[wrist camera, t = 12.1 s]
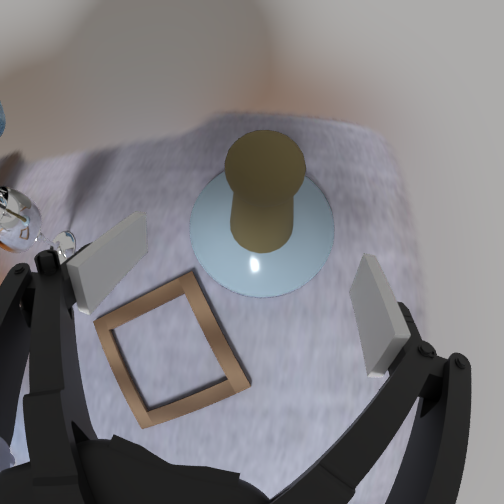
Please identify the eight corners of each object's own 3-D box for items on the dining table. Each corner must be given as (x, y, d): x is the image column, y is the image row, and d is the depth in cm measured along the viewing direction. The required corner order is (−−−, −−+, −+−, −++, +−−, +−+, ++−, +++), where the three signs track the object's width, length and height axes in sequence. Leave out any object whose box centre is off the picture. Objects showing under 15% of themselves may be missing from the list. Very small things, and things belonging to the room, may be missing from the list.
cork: (270, 185, 27) (278, 105, 17) (305, 232, 26) (336, 166, 15) (218, 214, 26) (197, 141, 16) (251, 265, 25) (249, 214, 14)
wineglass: (44, 273, 26) (-26, 242, 14) (50, 229, 27) (-12, 187, 16) (77, 271, 26) (2, 236, 14) (82, 224, 27) (19, 174, 16)
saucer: (172, 202, 28) (169, 197, 27) (286, 151, 30) (287, 145, 29) (230, 324, 24) (229, 323, 23) (356, 255, 26) (360, 252, 25)
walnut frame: (95, 321, 24) (93, 321, 24) (193, 272, 26) (191, 271, 25) (143, 427, 21) (141, 429, 21) (251, 385, 23) (250, 386, 22)
